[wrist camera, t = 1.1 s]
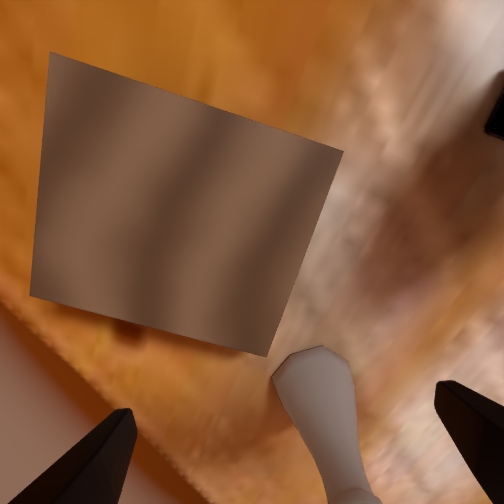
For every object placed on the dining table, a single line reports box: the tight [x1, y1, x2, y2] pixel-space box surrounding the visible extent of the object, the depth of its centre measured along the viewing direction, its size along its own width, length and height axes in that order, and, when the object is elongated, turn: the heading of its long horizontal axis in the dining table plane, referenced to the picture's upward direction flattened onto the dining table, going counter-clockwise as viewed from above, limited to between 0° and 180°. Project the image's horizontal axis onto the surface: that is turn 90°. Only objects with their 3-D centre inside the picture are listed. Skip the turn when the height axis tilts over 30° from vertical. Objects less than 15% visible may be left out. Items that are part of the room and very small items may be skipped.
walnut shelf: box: [30, 52, 344, 357], centre depth 17 cm, size 16×14×4 cm
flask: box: [272, 346, 383, 504], centre depth 18 cm, size 7×7×10 cm
